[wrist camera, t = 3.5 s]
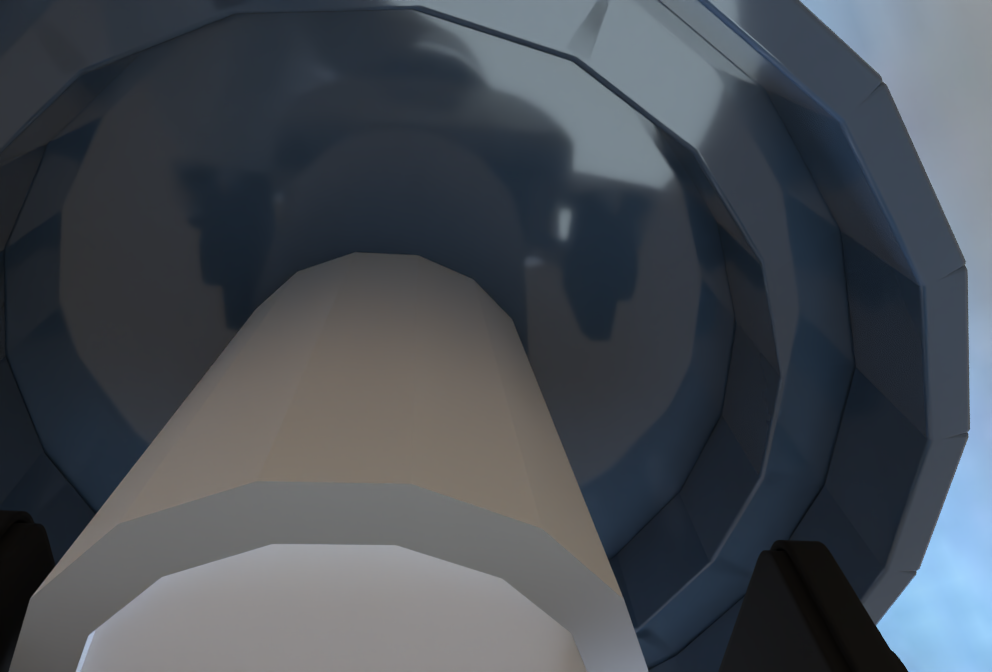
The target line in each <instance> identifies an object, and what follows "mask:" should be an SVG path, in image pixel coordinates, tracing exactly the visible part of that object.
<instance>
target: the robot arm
mask: <svg viewBox="0 0 992 672" xmlns="http://www.w3.org/2000/svg"><path fill="white" fill-rule="evenodd" d="M55 566H56V565H55V561H54V557H53V554H52V550H51V546H50V543H49V539H48V535H47V532H46V529H45V527H44V526H43V525H42V524H38V523H34V520H33V518H32V516H31V515H30V514H29V513H28V512H26V511H9V510H0V672H9V668H10V665H11V662H12V658H13V655H14V652H15V648H16V645H17V641H18V638H19V635H20V631H21V628H22V625H23V621H24V618H25V614H26V611H27V608H28V604H29V601H30V598H31V597H32V596H33V594H34V593H35V592H36V590H37V589H38V588H39V587H40V585H41V584H42V583H43V581H44V580H45V579H46V578H47V576H48V575H49V574H50V572H51V571H52V570H53V569H54V567H55ZM718 672H908V671H907V669H906V667H905V666H904V664H903V663H902V662H901V660H900V659H899V658H898V657H897V655H896V654H895V653H894V652H893V651H891V650H890V648H889V647H888V645H887V643H886V642H885V640H884V638H883V637H882V635H881V634H880V632H879V630H878V629H877V627H876V625H875V624H874V622H873V621H872V619H871V617H870V616H869V614H868V612H867V611H866V609H865V608H864V606H863V604H862V603H861V601H860V599H859V598H858V596H857V595H856V593H855V591H854V590H853V588H852V586H851V585H850V583H849V582H848V580H847V578H846V577H845V575H844V573H843V572H842V570H841V569H840V567H839V565H838V564H837V562H836V560H835V559H834V557H833V556H832V554H831V552H830V551H829V549H828V548H827V547H826V546H825V544H823V543H821V542H820V541H797V540H777V541H775V542H774V543H773V544H772V546H771V548H770V550H763V551H762V552H761V553H760V555H759V557H758V559H757V562H756V565H755V568H754V571H753V574H752V577H751V579H750V582H749V585H748V588H747V591H746V594H745V597H744V599H743V602H742V605H741V608H740V611H739V614H738V617H737V620H736V622H735V625H734V628H733V631H732V634H731V637H730V640H729V642H728V645H727V648H726V651H725V654H724V657H723V660H722V662H721V665H720V668H719V671H718Z"/></svg>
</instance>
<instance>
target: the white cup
mask: <svg viewBox="0 0 992 672" xmlns="http://www.w3.org/2000/svg"><path fill="white" fill-rule="evenodd" d="M9 672H649V671H648V668H647V665H646V662H645V659H644V656H643V654H642V651H641V648H640V645H639V642H638V639H637V636H636V633H635V630H634V627H633V624H632V621H631V619H630V616H629V613H628V610H627V607H626V604H625V601H624V598H623V596H622V593H621V591H620V588H619V586H618V583H617V581H616V578H615V576H614V573H613V571H612V568H611V566H610V563H609V561H608V558H607V556H606V553H605V551H604V548H603V546H602V543H601V541H600V538H599V536H598V533H597V531H596V528H595V526H594V523H593V521H592V518H591V516H590V513H589V511H588V508H587V506H586V503H585V501H584V498H583V496H582V493H581V491H580V488H579V486H578V483H577V481H576V478H575V476H574V473H573V471H572V468H571V466H570V463H569V461H568V458H567V456H566V453H565V451H564V448H563V445H562V443H561V440H560V438H559V435H558V433H557V430H556V428H555V425H554V423H553V420H552V418H551V415H550V413H549V410H548V408H547V405H546V403H545V400H544V398H543V395H542V393H541V390H540V388H539V385H538V383H537V380H536V378H535V375H534V373H533V370H532V368H531V365H530V363H529V360H528V358H527V355H526V353H525V350H524V348H523V345H522V343H521V340H520V338H519V335H518V333H517V330H516V328H515V325H514V323H513V320H512V319H511V318H510V317H509V316H508V315H507V313H506V312H505V311H504V310H503V309H502V308H501V307H500V306H499V305H498V304H497V303H496V302H495V301H494V300H493V299H492V298H491V297H490V296H489V295H488V294H487V293H486V292H485V291H484V290H483V289H482V288H481V287H480V286H479V285H478V284H477V283H476V282H475V281H474V280H473V279H471V278H469V277H467V276H464V275H462V274H460V273H457V272H455V271H453V270H451V269H448V268H446V267H444V266H441V265H439V264H437V263H435V262H432V261H430V260H428V259H425V258H423V257H421V256H418V255H403V254H382V253H361V252H354V253H351V254H348V255H345V256H342V257H339V258H336V259H333V260H330V261H327V262H324V263H321V264H318V265H316V266H313V267H310V268H307V269H304V270H301V271H298V272H296V273H295V274H294V275H293V276H292V277H291V278H290V279H289V280H288V281H286V282H285V283H284V284H283V285H282V286H281V287H280V288H279V289H278V290H276V291H275V292H274V293H273V294H272V295H271V296H270V297H269V298H268V299H266V300H265V301H264V302H263V303H262V304H261V305H260V306H259V307H258V308H257V309H256V310H255V311H254V312H253V313H252V315H251V316H250V317H249V319H248V320H247V321H246V322H245V324H244V325H243V326H242V328H241V329H240V330H239V331H238V333H237V334H236V335H235V337H234V338H233V339H232V340H231V342H230V343H229V344H228V345H227V347H226V348H225V349H224V351H223V352H222V353H221V354H220V356H219V357H218V358H217V360H216V361H215V362H214V363H213V365H212V366H211V367H210V369H209V370H208V371H207V372H206V374H205V375H204V376H203V378H202V379H201V380H200V381H199V383H198V384H197V385H196V387H195V388H194V389H193V390H192V392H191V393H190V394H189V396H188V397H187V398H186V399H185V401H184V402H183V403H182V404H181V406H180V407H179V408H178V410H177V411H176V412H175V413H174V415H173V416H172V417H171V419H170V420H169V421H168V422H167V424H166V425H165V426H164V428H163V429H162V430H161V431H160V433H159V434H158V435H157V437H156V438H155V439H154V440H153V442H152V443H151V444H150V446H149V447H148V448H147V449H146V451H145V452H144V453H143V454H142V456H141V457H140V458H139V460H138V461H137V462H136V463H135V465H134V466H133V467H132V469H131V470H130V471H129V472H128V474H127V475H126V476H125V478H124V479H123V480H122V481H121V483H120V484H119V485H118V487H117V488H116V489H115V490H114V492H113V493H112V494H111V496H110V497H109V498H108V499H107V501H106V502H105V503H104V505H103V506H102V507H101V508H100V510H99V511H98V512H97V513H96V515H95V516H94V517H93V519H92V520H91V521H90V522H89V524H88V525H87V526H86V528H85V529H84V530H83V531H82V533H81V534H80V535H79V537H78V538H77V539H76V540H75V542H74V543H73V544H72V546H71V547H70V548H69V549H68V551H67V552H66V553H65V555H64V556H63V557H62V558H61V560H60V561H59V562H58V563H57V565H56V566H55V567H54V569H53V570H52V571H51V572H50V574H49V575H48V576H47V578H46V579H45V580H44V581H43V583H42V584H41V585H40V587H39V588H38V589H37V590H36V592H35V593H34V594H33V596H32V597H31V598H30V601H29V604H28V608H27V611H26V614H25V618H24V621H23V625H22V628H21V631H20V635H19V638H18V641H17V645H16V648H15V652H14V655H13V658H12V662H11V665H10V668H9Z"/></svg>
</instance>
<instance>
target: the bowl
mask: <svg viewBox="0 0 992 672" xmlns="http://www.w3.org/2000/svg"><path fill="white" fill-rule="evenodd" d="M354 252H361V253H382V254H403V255H418V256H421V257H423V258H425V259H428V260H430V261H432V262H435V263H437V264H439V265H441V266H444V267H446V268H448V269H451V270H453V271H455V272H457V273H460V274H462V275H464V276H467V277H469V278H471V279H473V280H474V281H475V282H476V283H477V284H478V285H479V286H480V287H481V288H482V289H483V290H484V291H485V292H486V293H487V294H488V295H489V296H490V297H491V298H492V299H493V300H494V301H495V302H496V303H497V304H498V305H499V306H500V307H501V308H502V309H503V310H504V311H505V312H506V313H507V315H508V316H509V317H510V318H511V319H512V320H513V323H514V325H515V328H516V330H517V333H518V335H519V338H520V340H521V343H522V345H523V348H524V350H525V353H526V355H527V358H528V360H529V363H530V365H531V368H532V370H533V373H534V375H535V378H536V380H537V383H538V385H539V388H540V390H541V393H542V395H543V398H544V400H545V403H546V405H547V408H548V410H549V413H550V415H551V418H552V420H553V423H554V425H555V428H556V430H557V433H558V435H559V438H560V440H561V443H562V445H563V448H564V451H565V453H566V456H567V458H568V461H569V463H570V466H571V468H572V471H573V473H574V476H575V478H576V481H577V483H578V486H579V488H580V491H581V493H582V496H583V498H584V501H585V503H586V506H587V508H588V511H589V513H590V516H591V518H592V521H593V523H594V526H595V528H596V531H597V533H598V536H599V538H600V541H601V543H602V546H603V548H604V551H605V553H606V556H607V558H608V561H609V563H610V566H611V568H612V571H613V573H614V576H615V578H616V581H617V583H618V586H619V588H620V591H621V593H622V596H623V598H624V601H625V604H626V607H627V610H628V613H629V616H630V619H631V621H632V624H633V627H634V630H635V633H636V636H637V639H638V642H639V645H640V648H641V651H642V654H643V656H644V659H645V662H646V665H647V668H648V671H649V672H718V671H719V668H720V665H721V662H722V660H723V657H724V654H725V651H726V648H727V645H728V642H729V640H730V637H731V634H732V631H733V628H734V625H735V622H736V620H737V617H738V614H739V611H740V608H741V605H742V602H743V599H744V597H745V594H746V591H747V588H748V585H749V582H750V579H751V577H752V574H753V571H754V568H755V565H756V562H757V559H758V557H759V555H760V553H761V552H762V551H763V550H770V548H771V546H772V544H773V543H774V542H775V541H777V540H797V541H820V542H821V543H823V544H825V546H826V547H827V548H828V549H829V551H830V552H831V554H832V556H833V557H834V559H835V560H836V562H837V564H838V565H839V567H840V569H841V570H842V572H843V573H844V575H845V577H846V578H847V580H848V582H849V583H850V585H851V586H852V588H853V590H854V591H855V593H856V595H857V596H858V598H859V599H860V601H861V603H862V604H863V606H864V608H865V609H866V611H867V612H868V614H869V616H870V617H871V619H872V621H873V622H874V624H875V625H877V624H878V623H879V621H880V620H881V619H882V617H883V616H884V615H885V614H886V612H887V611H888V610H889V609H890V607H891V606H892V605H893V603H894V602H895V601H896V600H897V598H898V597H899V596H900V595H901V593H902V592H903V591H904V589H905V588H906V587H907V586H908V584H909V583H910V582H911V581H912V579H913V578H914V577H915V575H916V571H917V570H918V569H920V566H921V563H922V561H923V558H924V555H925V553H926V550H927V547H928V544H929V542H930V539H931V536H932V534H933V531H934V528H935V526H936V523H937V520H938V517H939V515H940V512H941V509H942V507H943V504H944V501H945V499H946V496H947V493H948V491H949V488H950V485H951V482H952V480H953V477H954V474H955V472H956V469H957V466H958V464H959V461H960V458H961V455H962V453H963V450H964V447H965V445H966V442H967V439H968V433H967V432H968V431H969V430H970V407H969V340H968V274H967V268H966V266H965V259H964V256H963V254H962V252H961V250H960V248H959V245H958V243H957V241H956V239H955V236H954V234H953V232H952V230H951V227H950V225H949V223H948V221H947V219H946V216H945V214H944V212H943V210H942V207H941V205H940V203H939V201H938V198H937V196H936V194H935V192H934V190H933V187H932V185H931V183H930V181H929V178H928V176H927V174H926V172H925V169H924V167H923V165H922V163H921V161H920V158H919V156H918V154H917V152H916V149H915V147H914V145H913V143H912V140H911V138H910V136H909V134H908V132H907V129H906V127H905V125H904V123H903V120H902V118H901V116H900V114H899V111H898V109H897V107H896V105H895V103H894V100H893V98H892V96H891V94H890V91H889V89H888V87H887V85H886V84H885V83H884V82H882V78H881V76H880V75H879V74H878V73H877V72H876V71H875V70H874V69H873V68H872V67H871V66H870V65H869V64H868V63H866V62H865V61H864V60H863V59H862V58H861V57H860V56H859V55H858V54H857V53H856V52H855V51H853V50H852V49H851V48H850V47H849V46H848V45H847V44H846V43H845V42H844V41H843V40H842V39H841V38H839V37H838V36H837V35H836V34H835V33H834V32H833V31H832V30H831V29H830V28H829V27H828V26H826V25H825V24H824V23H823V22H822V21H821V20H820V19H819V18H818V17H817V16H816V15H815V14H813V13H812V12H811V11H810V10H809V9H808V8H807V7H806V6H805V5H804V4H803V3H802V2H801V1H799V0H0V510H9V511H26V512H28V513H29V514H30V515H31V516H32V518H33V520H34V523H38V524H42V525H43V526H44V527H45V529H46V532H47V535H48V539H49V543H50V546H51V550H52V554H53V557H54V561H55V565H57V563H58V562H59V561H60V560H61V558H62V557H63V556H64V555H65V553H66V552H67V551H68V549H69V548H70V547H71V546H72V544H73V543H74V542H75V540H76V539H77V538H78V537H79V535H80V534H81V533H82V531H83V530H84V529H85V528H86V526H87V525H88V524H89V522H90V521H91V520H92V519H93V517H94V516H95V515H96V513H97V512H98V511H99V510H100V508H101V507H102V506H103V505H104V503H105V502H106V501H107V499H108V498H109V497H110V496H111V494H112V493H113V492H114V490H115V489H116V488H117V487H118V485H119V484H120V483H121V481H122V480H123V479H124V478H125V476H126V475H127V474H128V472H129V471H130V470H131V469H132V467H133V466H134V465H135V463H136V462H137V461H138V460H139V458H140V457H141V456H142V454H143V453H144V452H145V451H146V449H147V448H148V447H149V446H150V444H151V443H152V442H153V440H154V439H155V438H156V437H157V435H158V434H159V433H160V431H161V430H162V429H163V428H164V426H165V425H166V424H167V422H168V421H169V420H170V419H171V417H172V416H173V415H174V413H175V412H176V411H177V410H178V408H179V407H180V406H181V404H182V403H183V402H184V401H185V399H186V398H187V397H188V396H189V394H190V393H191V392H192V390H193V389H194V388H195V387H196V385H197V384H198V383H199V381H200V380H201V379H202V378H203V376H204V375H205V374H206V372H207V371H208V370H209V369H210V367H211V366H212V365H213V363H214V362H215V361H216V360H217V358H218V357H219V356H220V354H221V353H222V352H223V351H224V349H225V348H226V347H227V345H228V344H229V343H230V342H231V340H232V339H233V338H234V337H235V335H236V334H237V333H238V331H239V330H240V329H241V328H242V326H243V325H244V324H245V322H246V321H247V320H248V319H249V317H250V316H251V315H252V313H253V312H254V311H255V310H256V309H257V308H258V307H259V306H260V305H261V304H262V303H263V302H264V301H265V300H266V299H268V298H269V297H270V296H271V295H272V294H273V293H274V292H275V291H276V290H278V289H279V288H280V287H281V286H282V285H283V284H284V283H285V282H286V281H288V280H289V279H290V278H291V277H292V276H293V275H294V274H295V273H296V272H298V271H301V270H304V269H307V268H310V267H313V266H316V265H318V264H321V263H324V262H327V261H330V260H333V259H336V258H339V257H342V256H345V255H348V254H351V253H354Z"/></svg>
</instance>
